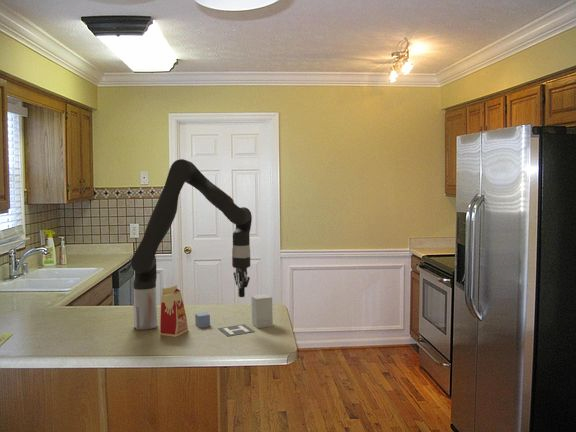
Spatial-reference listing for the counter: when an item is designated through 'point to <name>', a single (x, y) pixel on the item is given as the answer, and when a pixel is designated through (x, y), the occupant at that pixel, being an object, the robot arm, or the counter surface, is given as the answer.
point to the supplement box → (262, 311)
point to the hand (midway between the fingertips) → (241, 296)
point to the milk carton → (172, 313)
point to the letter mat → (236, 330)
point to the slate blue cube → (202, 319)
